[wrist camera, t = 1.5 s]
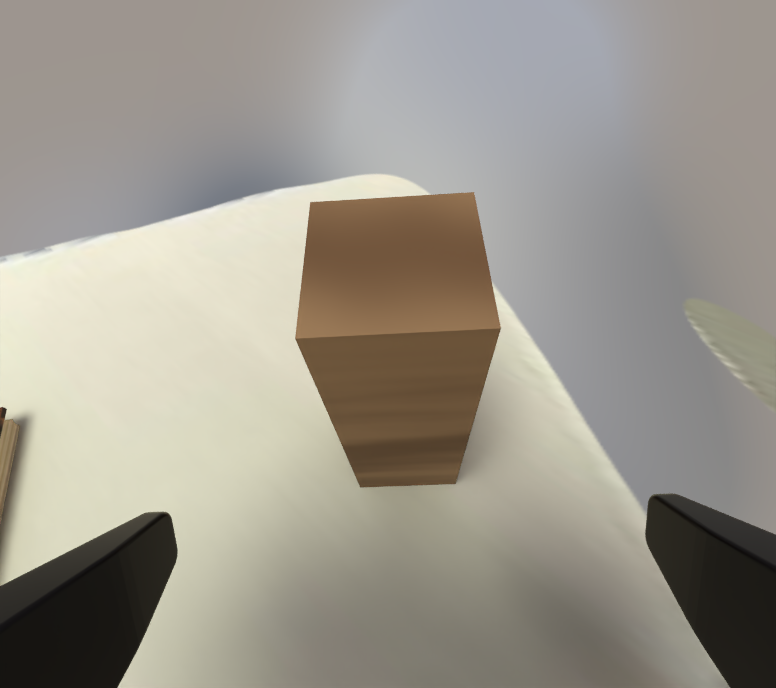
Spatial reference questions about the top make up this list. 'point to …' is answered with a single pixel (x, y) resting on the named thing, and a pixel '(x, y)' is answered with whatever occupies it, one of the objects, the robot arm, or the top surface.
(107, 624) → the robot arm
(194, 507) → the top surface
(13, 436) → the hardcover book
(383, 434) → the walnut block
